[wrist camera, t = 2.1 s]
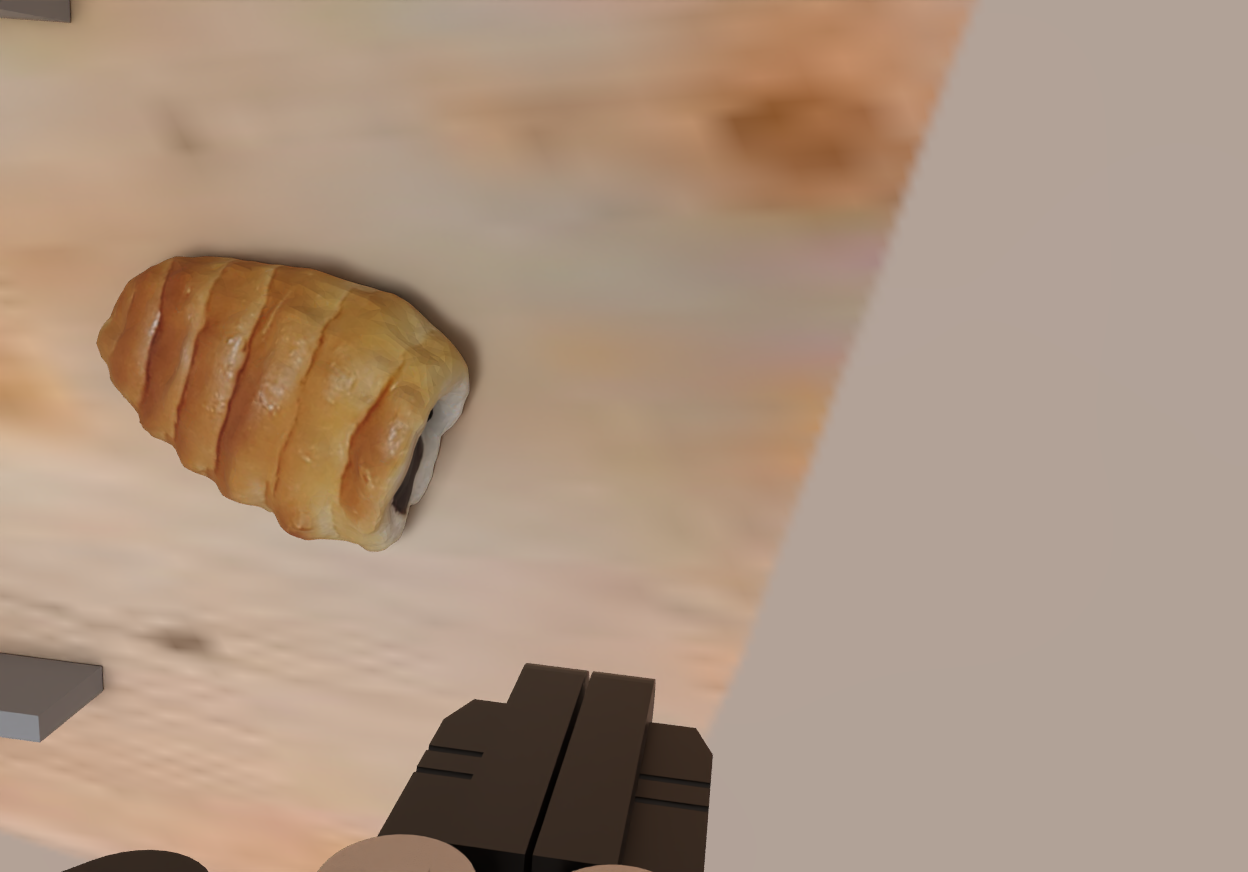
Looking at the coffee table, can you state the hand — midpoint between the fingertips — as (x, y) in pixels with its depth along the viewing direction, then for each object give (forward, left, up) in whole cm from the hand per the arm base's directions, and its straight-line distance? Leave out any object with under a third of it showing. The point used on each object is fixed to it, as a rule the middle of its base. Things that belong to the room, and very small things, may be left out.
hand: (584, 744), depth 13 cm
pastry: (0, -10, -17) cm, 20 cm away
